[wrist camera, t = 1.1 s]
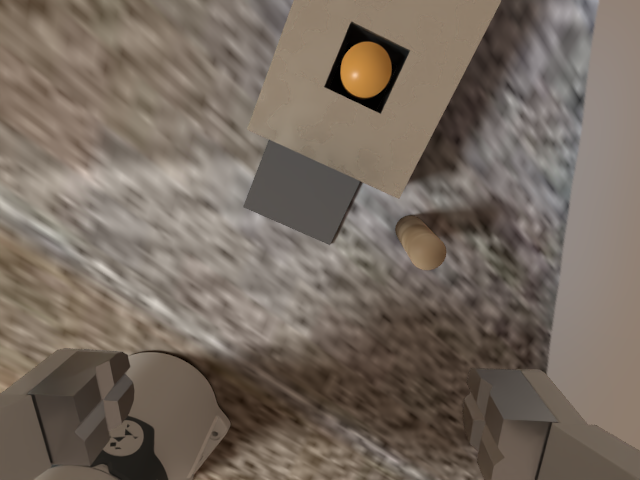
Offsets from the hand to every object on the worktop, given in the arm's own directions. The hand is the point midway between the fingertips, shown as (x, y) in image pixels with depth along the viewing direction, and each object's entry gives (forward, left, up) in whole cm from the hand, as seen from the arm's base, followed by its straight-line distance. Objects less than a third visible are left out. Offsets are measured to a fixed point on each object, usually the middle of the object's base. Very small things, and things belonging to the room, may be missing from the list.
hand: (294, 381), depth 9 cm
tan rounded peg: (0, -10, -30) cm, 31 cm away
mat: (-1, +2, -30) cm, 30 cm away
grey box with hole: (+11, +1, -30) cm, 32 cm away
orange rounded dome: (+11, +1, -26) cm, 28 cm away
